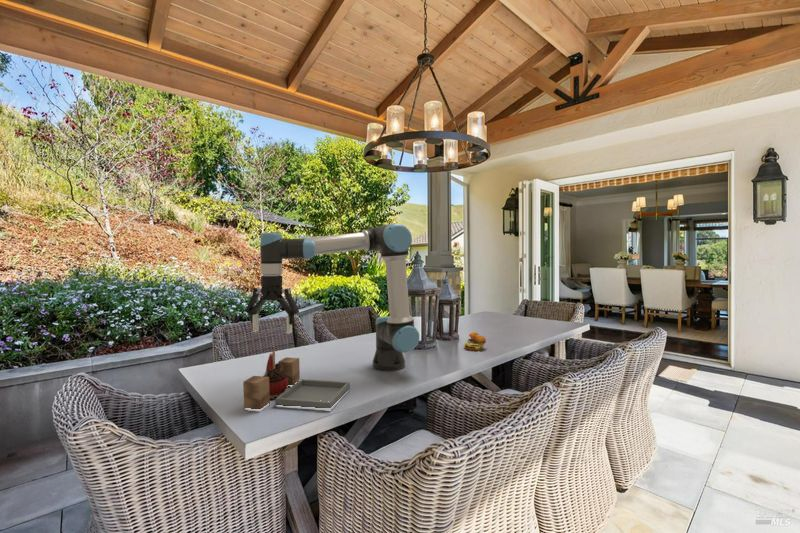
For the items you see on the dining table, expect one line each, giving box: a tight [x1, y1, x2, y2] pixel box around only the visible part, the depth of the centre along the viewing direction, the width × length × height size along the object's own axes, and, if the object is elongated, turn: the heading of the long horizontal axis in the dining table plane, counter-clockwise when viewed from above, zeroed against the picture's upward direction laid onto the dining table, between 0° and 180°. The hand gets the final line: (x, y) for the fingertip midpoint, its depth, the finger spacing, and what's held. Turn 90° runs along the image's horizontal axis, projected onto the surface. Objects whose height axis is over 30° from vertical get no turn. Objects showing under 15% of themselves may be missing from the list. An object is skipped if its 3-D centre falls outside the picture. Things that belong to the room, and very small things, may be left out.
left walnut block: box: [242, 375, 271, 409], centre depth 131 cm, size 6×6×10 cm
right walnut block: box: [277, 357, 301, 385], centre depth 153 cm, size 6×6×10 cm
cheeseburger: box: [463, 331, 487, 352], centre depth 205 cm, size 10×11×10 cm
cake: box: [263, 346, 289, 399], centre depth 142 cm, size 11×9×18 cm
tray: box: [274, 378, 351, 408], centre depth 139 cm, size 20×20×3 cm
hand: (272, 332), depth 141 cm, fingers open, 13 cm apart
